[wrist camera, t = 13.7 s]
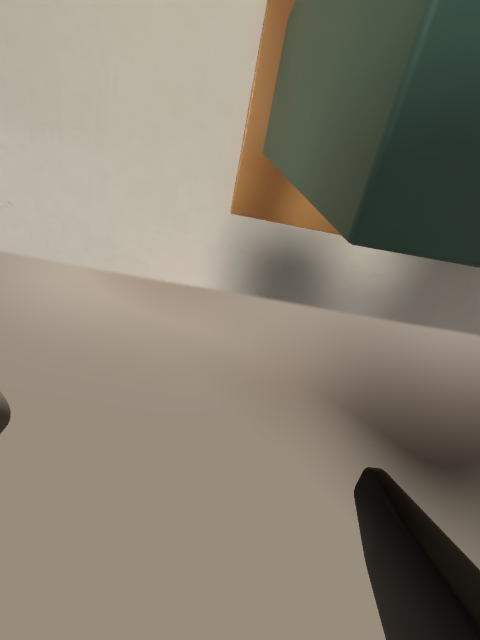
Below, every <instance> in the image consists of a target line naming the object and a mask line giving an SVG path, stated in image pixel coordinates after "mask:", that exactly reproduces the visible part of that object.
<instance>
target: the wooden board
mask: <svg viewBox="0 0 480 640" xmlns="http://www.w3.org/2000/svg"><path fill="white" fill-rule="evenodd" d="M295 2H296V0H268V1H267V7H266V12H265V18H264V24H263V29H262V35H261V41H260V46H259V52H258V58H257V64H256V69H255V75H254V81H253V86H252V92H251V98H250V104H249V109H248V115H247V121H246V126H245V132H244V138H243V143H242V149H241V155H240V161H239V166H238V172H237V178H236V183H235V189H234V195H233V200H232V206H231V213H232V214H236V215H241V216H246V217H251V218H256V219H261V220H267V221H272V222H277V223H282V224H287V225H292V226H297V227H302V228H307V229H312V230H318V231H323V232H328V233H333V234H338V235H341V234H340V233H339V232H338V231H337V230H336V229H335V228H334V227H333V226H332V225H331V224H330V223H329V222H328V221H327V219H326V218H325V217H324V216H323V215H322V214H321V213H320V212H319V211H318V210H317V209H316V208H315V207H314V206H313V205H312V204H311V203H310V202H309V201H308V200H307V199H306V198H305V197H304V196H303V195H302V194H301V193H300V192H299V191H298V190H297V189H296V187H295V186H294V185H293V184H292V183H291V182H290V181H289V180H288V179H287V178H286V177H285V176H284V175H283V174H282V173H281V172H280V171H279V170H278V169H277V168H276V167H275V166H274V165H273V164H272V163H271V162H270V161H269V160H268V159H267V158H266V156H265V155H264V154H263V148H264V143H265V138H266V132H267V127H268V122H269V117H270V111H271V106H272V101H273V96H274V91H275V85H276V80H277V75H278V70H279V64H280V59H281V54H282V49H283V43H284V38H285V33H286V28H287V22H288V17H289V15H290V13H291V11H292V8H293V6H294V4H295Z"/></svg>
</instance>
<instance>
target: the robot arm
mask: <svg viewBox="0 0 480 640" xmlns="http://www.w3.org/2000/svg"><path fill="white" fill-rule="evenodd" d="M354 498H355V504H356V510H357V516H358V522H359V528H360V534H361V540H362V545H363V551H364V557H365V562H366V566H367V570H368V574H369V578H370V581H371V585H372V589H373V593H374V596H375V600H376V604H377V608H378V611H379V615H380V619H381V623H382V626H383V630H384V634H385V637H386V640H480V570H479V569H478V568H477V567H476V566H475V565H474V564H473V562H471V560H470V559H469V558H468V557H467V556H466V555H465V554H464V553H463V552H462V551H461V550H460V549H459V548H458V547H457V546H456V545H455V544H454V543H453V542H452V541H451V540H450V538H449V537H447V536H446V534H445V533H444V532H443V531H442V530H441V529H440V528H439V527H438V526H437V525H436V524H435V523H434V522H433V521H432V520H431V519H430V518H429V517H428V516H427V515H426V514H425V513H424V512H423V510H422V509H421V508H420V507H419V506H418V505H417V504H416V503H415V502H414V501H413V500H412V499H411V498H410V497H409V496H408V495H407V494H406V493H405V492H404V491H403V490H402V488H401V487H400V486H399V485H398V484H397V483H396V482H395V481H394V480H393V479H392V478H391V477H390V476H389V475H388V474H387V473H386V472H385V471H384V470H382V469H380V468H371V467H367V468H365V469H364V471H363V473H362V475H361V477H360V478H359V480H358V482H357V484H356V486H355V490H354Z"/></svg>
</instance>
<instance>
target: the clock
mask: <svg viewBox="0 0 480 640" xmlns="http://www.w3.org/2000/svg"><path fill="white" fill-rule="evenodd" d="M263 154H264V155H265V156H266V158H267V159H268V160H269V161H270V162H271V163H272V164H273V165H274V166H275V167H276V168H277V169H278V170H279V171H280V172H281V173H282V174H283V175H284V176H285V177H286V178H287V179H288V180H289V181H290V182H291V183H292V184H293V185H294V186H295V187H296V189H297V190H298V191H299V192H300V193H301V194H302V195H303V196H304V197H305V198H306V199H307V200H308V201H309V202H310V203H311V204H312V205H313V206H314V207H315V208H316V209H317V210H318V211H319V212H320V213H321V214H322V215H323V216H324V217H325V218H326V219H327V221H328V222H329V223H330V224H331V225H332V226H333V227H334V228H335V229H336V230H337V231H338V232H339V233H340V234H341V235H342V236H343V237H344V238H345V239H346V240H347V241H348V242H349V243H351V244H352V245H357V246H363V247H368V248H374V249H379V250H385V251H391V252H396V253H402V254H407V255H413V256H418V257H424V258H430V259H435V260H441V261H446V262H452V263H457V264H463V265H469V266H474V267H480V0H296V2H295V4H294V6H293V8H292V11H291V13H290V15H289V17H288V22H287V28H286V33H285V38H284V43H283V49H282V54H281V59H280V64H279V70H278V75H277V80H276V85H275V91H274V96H273V101H272V106H271V111H270V117H269V122H268V127H267V132H266V138H265V143H264V148H263Z"/></svg>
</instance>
